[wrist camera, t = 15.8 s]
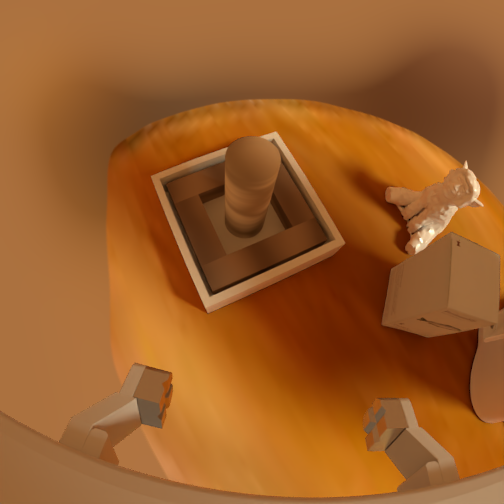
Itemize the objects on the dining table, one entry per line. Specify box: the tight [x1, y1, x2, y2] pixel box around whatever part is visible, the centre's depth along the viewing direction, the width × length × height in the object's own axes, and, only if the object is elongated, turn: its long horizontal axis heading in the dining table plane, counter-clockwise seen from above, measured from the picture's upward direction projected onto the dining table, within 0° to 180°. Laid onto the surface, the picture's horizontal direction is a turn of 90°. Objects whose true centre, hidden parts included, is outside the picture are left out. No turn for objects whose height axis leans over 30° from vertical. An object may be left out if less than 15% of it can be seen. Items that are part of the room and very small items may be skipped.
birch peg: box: [225, 136, 281, 238], centre depth 30 cm, size 4×4×12 cm
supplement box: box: [381, 232, 500, 338], centre depth 29 cm, size 7×7×13 cm
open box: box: [151, 132, 345, 313], centre depth 34 cm, size 16×16×4 cm
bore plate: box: [166, 162, 327, 295], centre depth 34 cm, size 13×13×2 cm
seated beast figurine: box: [385, 161, 483, 255], centre depth 33 cm, size 10×9×12 cm
